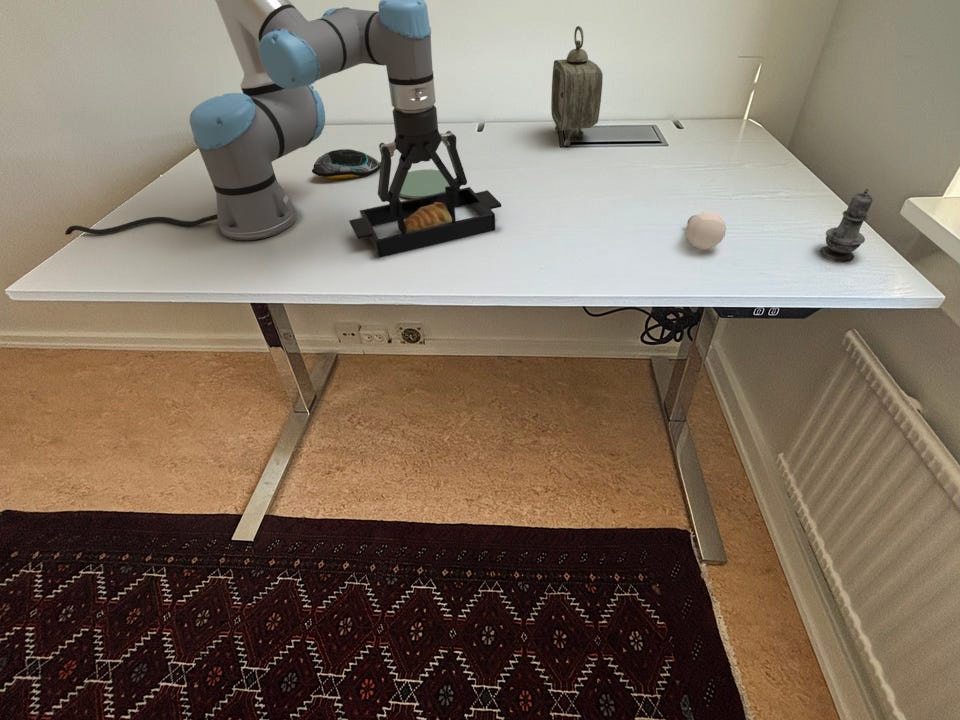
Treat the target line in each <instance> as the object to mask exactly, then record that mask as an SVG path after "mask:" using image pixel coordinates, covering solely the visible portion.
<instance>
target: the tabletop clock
mask: <svg viewBox="0 0 960 720" xmlns="http://www.w3.org/2000/svg"><path fill="white" fill-rule="evenodd" d="M578 31H579V33H580V37H581V38H580V39H581V40H578V39H577V33H578ZM573 38H574V39H573V40H574V46H575V48H573V49H571V50H570V51H569V52H568V54H567V57H566V59H555V60H554V61H553V66H552V77H551V78H552V79H551V100H550V102H551V103H550V104H551V106H550V109H551V118H552V121H553V122H554V124H555V127H554V130H555V132H560V131H568V133H567V134H568V135H567V139H565V140H564V142H563V145H564V147H569V146H570V145H571V140H570V139H571V137H572V135H573V133H574V131H575V130H578V131H577V133H576V136H577V138H583V136H584V132H583V131H582V129H591V128H592V127H594V126H595V125H597V124H598V123H599V118H600V110H601V104H602V103H601V102H602V95H603V94H602V93H603V78H604V77H603V76H604V75H603V71H602V69H601V68H600V67H599V66H598V65H597V63H595V62H594V61H592V60H590V59H589V56H588V53H587V51H586V50H584V49H582V48H583V46H584V30H583V28H582V27H581V26H580V25H577V26H576V27H575V29H574V37H573Z"/></svg>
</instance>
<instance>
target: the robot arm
mask: <svg viewBox="0 0 960 720" xmlns="http://www.w3.org/2000/svg"><path fill="white" fill-rule="evenodd" d="M214 1H215V3H216V6H217V8H218V11H219V14H220V16H221V18H222V21H223V23H224V26H225V29H226V32H227V34H228V36H229V38H230V42H231V44H232V46H233V47H232V48H233V49H234V51H235V55H236V57H237V59H238V62H239V64H240V68H241V69H242V72H243V78H242V80H241V82H240V89H241V92H230V93H223V94H222V95H215V96H213V97H210V98H208V99H206V100H204V101H202V102H201V103H199V104H198V105H196V106H195V107H194V108H193V110H192V111H191V112H190V115H189V120H188V121H189V125H190V128H191V132H192V135H193V141H194V143H195V144H196V146H197V148H198V150H199V153H200V155H201V159H202V160H203V163H204V165H205V168H206V170H207V173H208V176H209V178H210V181H211V183H212V185H213V189H214V191H215V195H216V214H213V215H209V216H204V217H202V218H198V219H196V220H192V221H191V220H190V221H189V220H180V219H176V218H172V217H167V216H151V217H145V218H141V219H136V220H133V221H129V222H126V223H122V224H120V225H116V226H113V227H108V228H101V229H100V228H99V229H98V228H96V229H95V228H90V227H86V226H82V225H70V226H69V227H68V228H67V229H66V230H65V233H64V234H65V236H68V235H71V234H72V233H73V232H74V231H78V232H79V231H80V232H82V233H83V232H84V233H88V234H92V235H106V234H111V233H115V232H120V231H123V230H126V229H129V228H133V227H136V226H139V225H144V224H148V223H154V222H156V223H157V222H163V223H164V222H165V223H170V224H174V225H178V226H181V227H182V226H183V227H195V226H199V225H202V224H205V223H208V222H211V221H216V220H217V225H218V227H219V230H220V232H221V234H222V235H223V236H224V237H226V238H228V239H231V240H235V241H236V240H237V241H256V240H262V239H266V238H270V237H273V236H276V235H278V234H281V233H282V232H284V231H286V230H288V229H289V228H290V227H292V226H293V224H295V222H296V220H297V217H298V215H297V211H296V208H295V205H294V204H293V201H291V199H290V197H289V196H288V194H287V193H286V191H285V190H284V188H282V185H281V184H280V182H279V181H278V179H277V177H276V173H275V170H274V167H273V162H274V161H276V160H278V159H281V158H283V157H285V156H287V155H288V154H291V153H293V152H294V151H298V150H299V149H300V148H301V149H302V148H306V147H307V146H309V145H310V144H311V143H312V142H314V141H315V140H317V139H319V137H320V136H321V135H322V133H323V131H324V128H325V125H326V110H325V106H324V102H323V100H322V97H321V96H320V93H319V92H318V90H316V89H314V85H313V84H315V83H316V82H317V81H319V80H321V79H324V78H326V77H329V76H331V75H333V74H338V73H340V72H341V73H342V72H343V71H345V70H349V69H351V68H353V67H356V66H359V65H361V64H368V65H376V66H385V67H386V74H387V80H388V87H389V95H390V104H391V106H392V107H393V109H392V118H393V125H394V133H395V137H394V140H393V142H389V143H385V142H380V143H379V145H378V148H379V152H380V156H381V157H380V162H381V165H380V168H379V176H378V185H377V196H378V199H380V201H381V202H382V203H386V202H388V204H389V205H390V211H391V214H392V216H393V217H394V218H397V220H396V223H397V228H398V230H399V232H400V234H402V233H406V232H407V231H405V224H404V221H405V219H404V217H403V209H402V201H401V200H400V198H399V197H400V196H399V194H400V192H401V189H402V186H403V184H404V181H405V179H406V176H407V173H408V172H410V170H411V169H412V165H415V164H419V163H422V162H425V163H426V162H430V161H432V162H433V164H434V165H435V167H436V168H437V170H439V171H440V172H441V174H442V175H443V177H444V178H445V179H446V181H447V182H448V184H449V186H450V187H449V186H447V187H445V192H446V204H447V209H448V212H449V213H450V215H451V218H452V222H454V221H457V220H456V209H455V208H456V207H455V206H454V205H458V203H459V198H458V191H459V190H460V189H461V187H462V186H466V185H467V184H468V179H467V176H466V174H465V170H464V167H463V164H462V161H461V158H460V155H459V152H458V148H457V136H456V135H455V134H454V133H453V132H452V131H451V130H447V131H446V132H444V133H440V131H439V122H438V112H437V111H438V110H437V107H436V106H435V104H436V102H437V101H436V88H435V77H434V69H433V55H432V54H433V53H432V28H431V26H430V20H429V19H430V17H429V12H428V5H427V2H426V1H425V0H380V1H379V2H378V11H377V10H367V9H358V8H357V9H356V8H350V7H347V6H346V7H345V6H343V7H340V8H339V7H336V8H334V7H333V8H329V9H327V10H325V12H323V14H322V16H321V17H320V18H316V19H313V20H307V19H306V17H305V16H304V14H302V13H301V12H300V10H299V9H297V7H295V5H293V3H292V2H291V0H214ZM441 143H442V144H443V145H444V146H445V147H446V151H447V153H448V156H449V160H450V163H451V165H452V168H453V171H454V174H455V178H454V177H453V176H452V174H451V173H450V171H449V169H448V168H447V167H446V165H445V164H444V162H443V161H442V159H441V157H440V156H439V154H438V152H437V150H438V149H439V146H440V144H441ZM396 150H397V151H398V153H400V156H399V158H398V165H397V167H396V170H395V173H394V176H393V178H392V181H391V184H390V179H391V178H390V177H391V168H392V158H393V157H394V155H395V151H396Z"/></svg>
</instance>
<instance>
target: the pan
mask: <svg viewBox="0 0 960 720" xmlns="http://www.w3.org/2000/svg"><path fill="white" fill-rule="evenodd" d="M458 198H459V203H458V205H454V206H455V208H459V207H463V206H470V208H471V209H472V210H473V211H474V212H475V214H476V216H472V217H468V218H463V219H459V220H456V221H454V222H450V223H446V224H441V225H437V226H433V227H428V228H424V229H420V230H415V231H411V232H407V231H406V233H402V234H401V233H398V234H394V235H390V236H386V237H381V238H379V236H378V235H377V233H376V231H375V229H374V228H373V227H374V226H378V225H382V224H387V223H391V222H397V218H394V217H393V216H392V214H391V211H390V205H389V203H388V204H384V205H378V206H374V207H370V208H366V209H365V208H364V209H360V210H359V214H360V217H359V218H358V217H357V218H354V219H350V220H349V224H350V226H351V228H352V231H353V232H354V235H355V237H356V239H357V240H361V239H365V238H366V239H367V238H368V239H369V242H370V243H371V245H372V246H373V249H374V250H375V252H376V254H377V256H378V258H379V259H381V258H385V257H388V256H393V255H397V254H402V253H406V252H411V251H414V250H418V249H424V248H426V247H430V246H435V245H440V244H443V243H448V242H452V241H456V240H460V239H465V238H469V237H473V236H478V235H482V234H486V233H491V232H494V231H496V213H495V212H494V211H493V210H494V209H498V208H501V207H502V203H501V202H500V201H499V200H498V199H497V198H496V197H495V196H494V195H493V194H492V192H490V191H489V190H483V191H478V192H475V191H474V190H473V188H471V187H470V186H467V187H463V188H460V190H459V191H458ZM401 202H402V209H403V217H404V220H406V219H407V218H408V217H409V216H410V215H411V214H414V213H415V212H416V211H417V210H418V209H419V208H421V207H425V206H427V205H433V204H434V203H435V202H438V203H439V202H441V203H443V204H444V205H445V206H446V207H447V204H446V192H444V193H439V194H434V195H430V196H425V197H420V198H416V199H413V198H410V199H406V200H402V201H401Z"/></svg>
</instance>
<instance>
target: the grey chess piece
mask: <svg viewBox="0 0 960 720" xmlns="http://www.w3.org/2000/svg"><path fill="white" fill-rule="evenodd" d="M873 200H874V199H873V196H871V195H870V194H869V188H865V189H864V190H863V192H858V193H856V194H854V195H853V196H852V197H851V200H850V202H849V204H848V206H847V208H846V210H844V211H842V219H841V221H840V223H839V225H838V226H836V227H830V228H828V229H827V230H826V231H825V236H826V237H825V243H826V245H825V246H823V247H821V248H820V249H819V253H820V255H821V256H822V257H824V258H825V259H827V260H830V261H832V262H838V263H849V262H852V261H853V260H854V259H855V255H854V253H853V252H854V251H856V250H857V249H858V248H859V247H860V246H861V245H862V244H864V243H865V241H866V238H865V236H864V235H863V234H862V233H860V231H861V228H862V226H863V224H864V221H867V219H868V215H867V214H868V212H869V210H870V208H871V206H872V203H873Z"/></svg>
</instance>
